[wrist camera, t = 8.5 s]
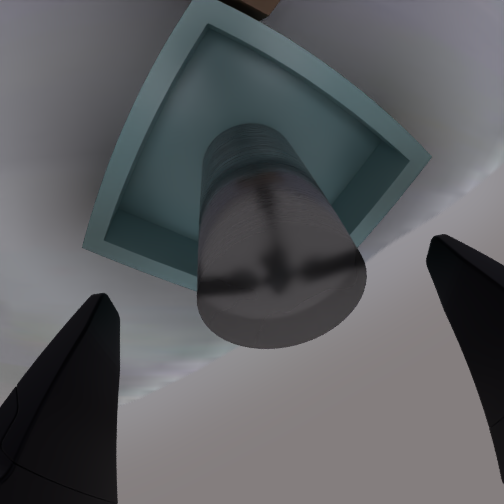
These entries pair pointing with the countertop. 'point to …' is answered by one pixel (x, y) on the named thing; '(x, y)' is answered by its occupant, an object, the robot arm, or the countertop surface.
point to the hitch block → (253, 7)
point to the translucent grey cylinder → (270, 245)
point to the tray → (231, 114)
